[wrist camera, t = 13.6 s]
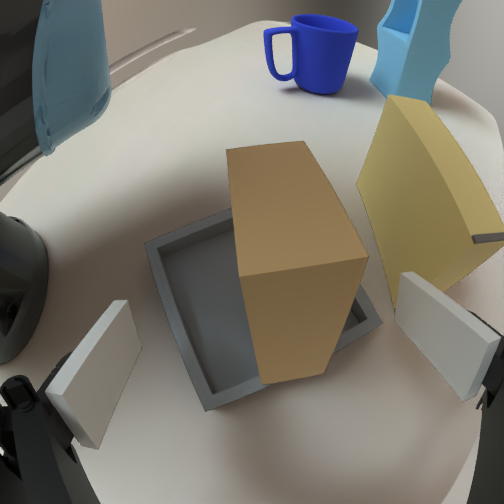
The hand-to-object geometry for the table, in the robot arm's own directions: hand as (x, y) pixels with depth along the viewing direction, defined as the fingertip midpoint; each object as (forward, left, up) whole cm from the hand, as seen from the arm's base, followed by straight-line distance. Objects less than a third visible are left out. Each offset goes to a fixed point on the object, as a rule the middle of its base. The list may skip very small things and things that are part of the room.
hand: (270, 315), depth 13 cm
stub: (+1, 0, -5) cm, 5 cm away
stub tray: (+1, +3, -7) cm, 7 cm away
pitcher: (+34, +22, -7) cm, 41 cm away
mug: (+19, +26, -7) cm, 33 cm away
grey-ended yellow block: (+13, +3, -7) cm, 15 cm away
